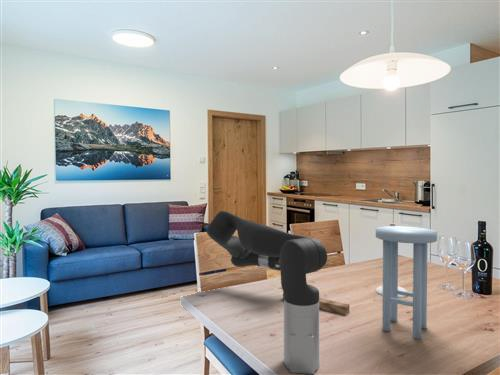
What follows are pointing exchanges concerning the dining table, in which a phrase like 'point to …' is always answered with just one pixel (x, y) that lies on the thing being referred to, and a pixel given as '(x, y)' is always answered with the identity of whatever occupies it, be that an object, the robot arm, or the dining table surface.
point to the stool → (390, 273)
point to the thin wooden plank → (332, 306)
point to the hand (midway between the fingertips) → (307, 265)
